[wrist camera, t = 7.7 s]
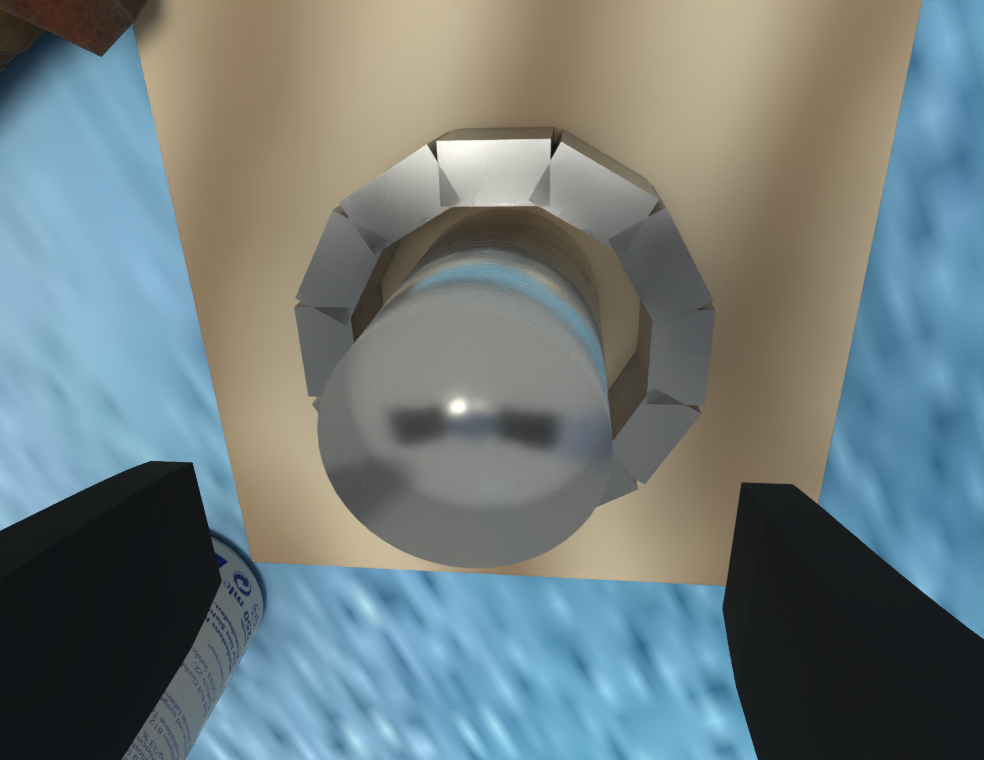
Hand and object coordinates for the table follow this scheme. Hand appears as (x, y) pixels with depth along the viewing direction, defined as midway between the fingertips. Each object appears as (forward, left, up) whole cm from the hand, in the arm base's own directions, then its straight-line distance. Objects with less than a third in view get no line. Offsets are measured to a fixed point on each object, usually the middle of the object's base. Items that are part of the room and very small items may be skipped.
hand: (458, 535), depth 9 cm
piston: (0, 0, -8) cm, 8 cm away
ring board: (0, 0, -9) cm, 9 cm away
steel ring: (0, 0, -9) cm, 9 cm away
